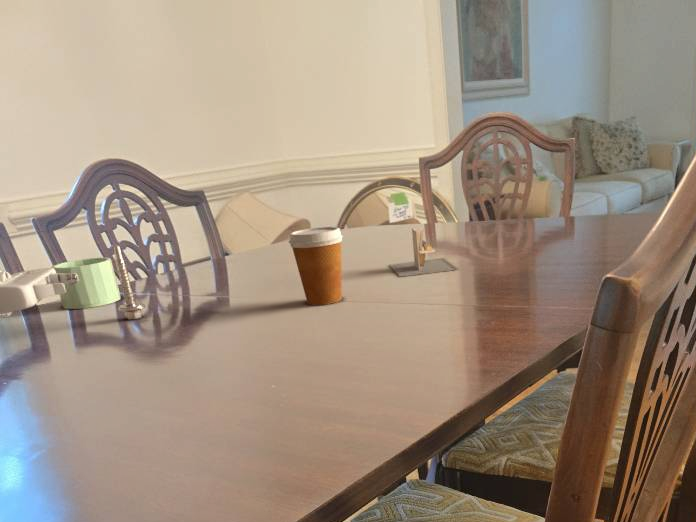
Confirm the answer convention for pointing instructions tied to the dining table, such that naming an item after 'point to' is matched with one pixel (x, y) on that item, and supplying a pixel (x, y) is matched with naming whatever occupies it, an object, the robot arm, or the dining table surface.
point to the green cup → (89, 283)
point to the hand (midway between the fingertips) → (71, 282)
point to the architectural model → (421, 259)
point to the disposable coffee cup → (319, 263)
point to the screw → (126, 288)
